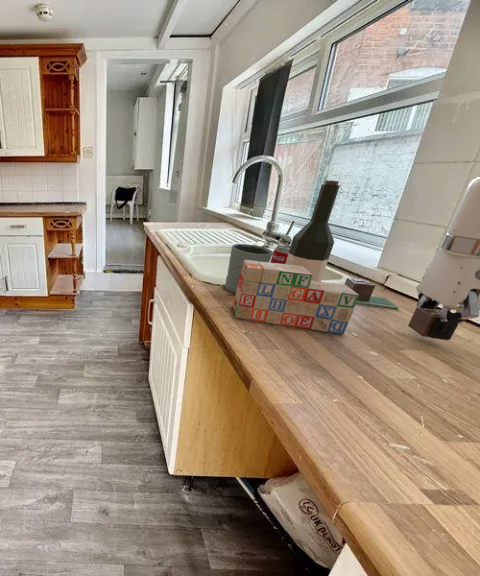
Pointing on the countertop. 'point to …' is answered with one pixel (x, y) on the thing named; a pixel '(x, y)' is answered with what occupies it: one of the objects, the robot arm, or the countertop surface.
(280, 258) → the beverage can
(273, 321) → the stack of blocks
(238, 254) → the grey cylindrical pot
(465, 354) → the countertop surface
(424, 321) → the dark brown wooden box
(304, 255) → the wine bottle
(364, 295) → the dark brown cube
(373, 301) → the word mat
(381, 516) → the countertop surface
